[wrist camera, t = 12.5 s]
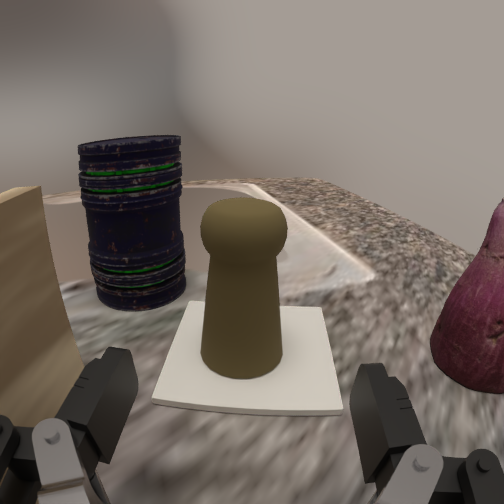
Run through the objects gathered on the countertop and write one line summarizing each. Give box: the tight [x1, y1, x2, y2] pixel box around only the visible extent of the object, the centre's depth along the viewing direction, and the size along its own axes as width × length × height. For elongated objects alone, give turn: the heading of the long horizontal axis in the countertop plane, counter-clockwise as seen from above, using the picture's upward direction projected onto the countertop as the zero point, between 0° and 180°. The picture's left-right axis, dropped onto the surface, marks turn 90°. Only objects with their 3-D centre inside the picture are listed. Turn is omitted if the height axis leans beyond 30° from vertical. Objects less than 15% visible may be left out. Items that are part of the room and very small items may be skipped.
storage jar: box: [78, 135, 186, 311], centre depth 29 cm, size 10×10×15 cm
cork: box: [200, 198, 288, 378], centre depth 21 cm, size 6×6×11 cm
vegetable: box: [430, 198, 504, 394], centre depth 21 cm, size 10×10×15 cm
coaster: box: [152, 301, 343, 416], centre depth 24 cm, size 12×12×1 cm
